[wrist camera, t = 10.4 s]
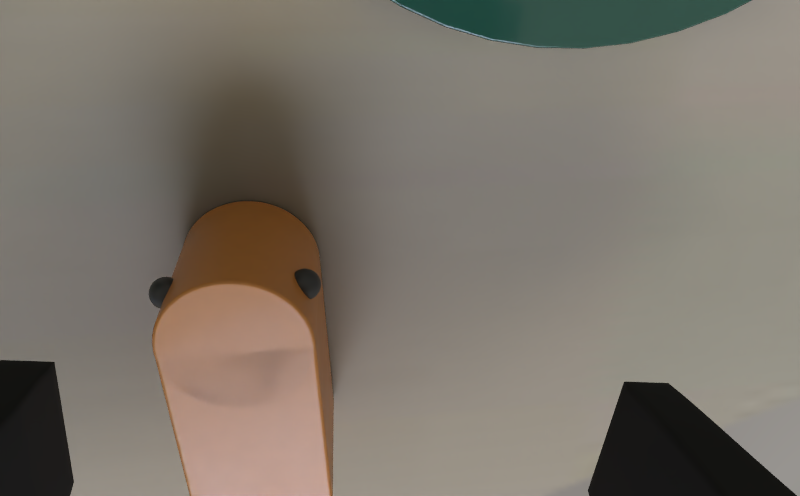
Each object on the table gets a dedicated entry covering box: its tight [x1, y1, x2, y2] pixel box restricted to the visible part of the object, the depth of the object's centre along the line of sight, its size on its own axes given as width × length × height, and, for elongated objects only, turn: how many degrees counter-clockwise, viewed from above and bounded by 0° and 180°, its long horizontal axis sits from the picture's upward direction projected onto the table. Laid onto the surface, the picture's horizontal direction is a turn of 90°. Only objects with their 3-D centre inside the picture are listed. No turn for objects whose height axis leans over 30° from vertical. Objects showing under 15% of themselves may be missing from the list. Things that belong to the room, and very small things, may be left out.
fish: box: [149, 201, 334, 496], centre depth 18 cm, size 8×4×4 cm, turn 2°
